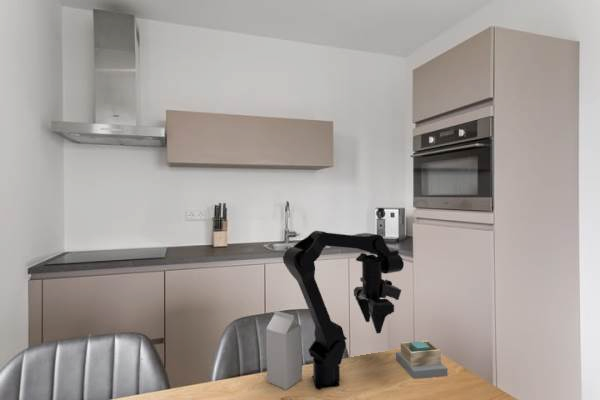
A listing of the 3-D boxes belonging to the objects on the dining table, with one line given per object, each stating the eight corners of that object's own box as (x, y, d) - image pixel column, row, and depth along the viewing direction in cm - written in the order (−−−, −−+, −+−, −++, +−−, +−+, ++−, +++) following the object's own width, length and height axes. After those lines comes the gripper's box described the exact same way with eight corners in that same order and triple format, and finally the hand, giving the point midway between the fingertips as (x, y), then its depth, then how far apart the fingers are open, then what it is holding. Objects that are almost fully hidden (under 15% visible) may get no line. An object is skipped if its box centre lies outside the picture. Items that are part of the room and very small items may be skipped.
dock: (414, 380, 95) (413, 371, 95) (396, 360, 107) (395, 352, 107) (447, 377, 97) (447, 368, 97) (426, 357, 109) (425, 349, 109)
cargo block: (417, 360, 100) (416, 348, 100) (410, 354, 104) (410, 342, 104) (429, 359, 100) (429, 347, 100) (422, 353, 104) (422, 341, 104)
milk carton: (286, 390, 91) (285, 319, 91) (266, 382, 96) (265, 314, 96) (302, 379, 97) (301, 311, 97) (283, 371, 101) (282, 307, 101)
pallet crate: (411, 366, 98) (411, 352, 98) (400, 355, 105) (400, 342, 105) (440, 364, 99) (440, 350, 99) (428, 353, 106) (428, 340, 106)
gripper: (411, 281, 95) (412, 337, 95) (385, 268, 113) (386, 315, 113) (373, 283, 93) (374, 340, 93) (352, 269, 112) (353, 317, 112)
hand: (372, 327), depth 103 cm, fingers open, 9 cm apart
